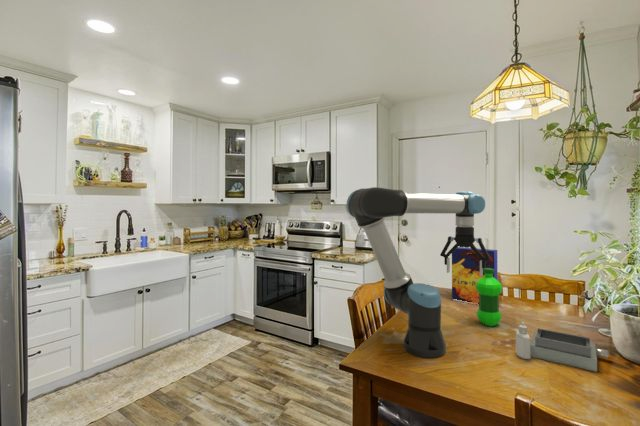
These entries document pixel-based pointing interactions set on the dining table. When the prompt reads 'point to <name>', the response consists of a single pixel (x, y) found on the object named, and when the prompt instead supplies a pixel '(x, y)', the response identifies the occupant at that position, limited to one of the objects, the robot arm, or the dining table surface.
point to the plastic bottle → (489, 298)
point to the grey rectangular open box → (566, 349)
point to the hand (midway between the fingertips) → (464, 273)
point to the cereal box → (469, 272)
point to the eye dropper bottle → (523, 342)
